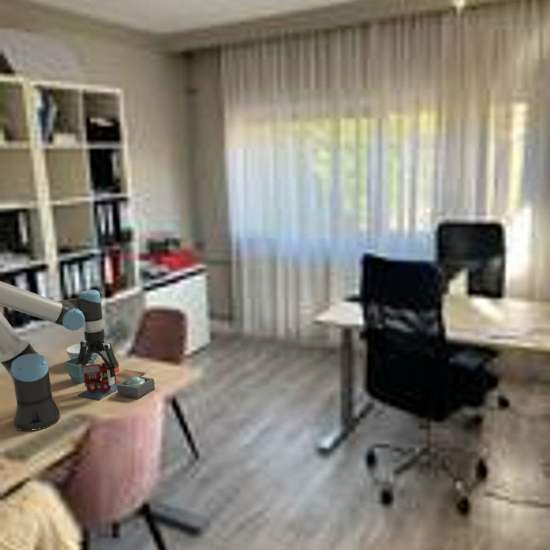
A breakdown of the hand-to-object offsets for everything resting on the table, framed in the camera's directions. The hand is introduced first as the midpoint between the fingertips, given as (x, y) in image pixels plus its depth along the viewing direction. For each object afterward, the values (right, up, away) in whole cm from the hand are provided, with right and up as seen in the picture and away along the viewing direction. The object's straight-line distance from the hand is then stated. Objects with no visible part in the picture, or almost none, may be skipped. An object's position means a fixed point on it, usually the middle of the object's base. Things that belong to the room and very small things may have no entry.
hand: (100, 382), depth 230 cm
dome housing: (+15, -4, -2) cm, 16 cm away
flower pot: (-12, -2, +13) cm, 18 cm away
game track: (+3, -2, +7) cm, 8 cm away
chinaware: (-16, +2, +33) cm, 37 cm away
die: (-1, 0, +20) cm, 20 cm away
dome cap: (+15, -2, -2) cm, 15 cm away
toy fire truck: (0, -3, 0) cm, 3 cm away
